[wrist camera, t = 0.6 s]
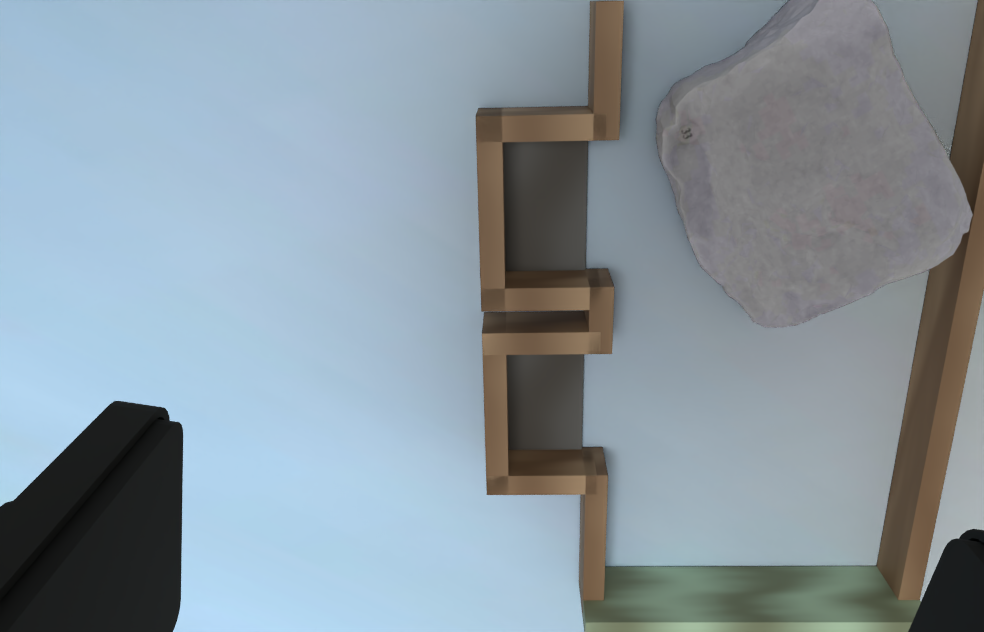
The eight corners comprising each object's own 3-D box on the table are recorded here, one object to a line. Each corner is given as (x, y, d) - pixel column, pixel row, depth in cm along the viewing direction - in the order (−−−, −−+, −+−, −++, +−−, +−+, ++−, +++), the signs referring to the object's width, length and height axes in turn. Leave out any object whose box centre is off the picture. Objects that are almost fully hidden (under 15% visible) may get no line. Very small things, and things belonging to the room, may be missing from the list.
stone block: (748, 316, 39) (966, 213, 35) (755, 364, 34) (1005, 254, 30) (617, 101, 36) (840, -39, 32) (608, 125, 32) (864, -32, 27)
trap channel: (1006, -9, 31) (1072, -10, 28) (893, 582, 42) (931, 639, 38) (475, 4, 32) (470, 4, 28) (491, 582, 42) (489, 639, 38)
